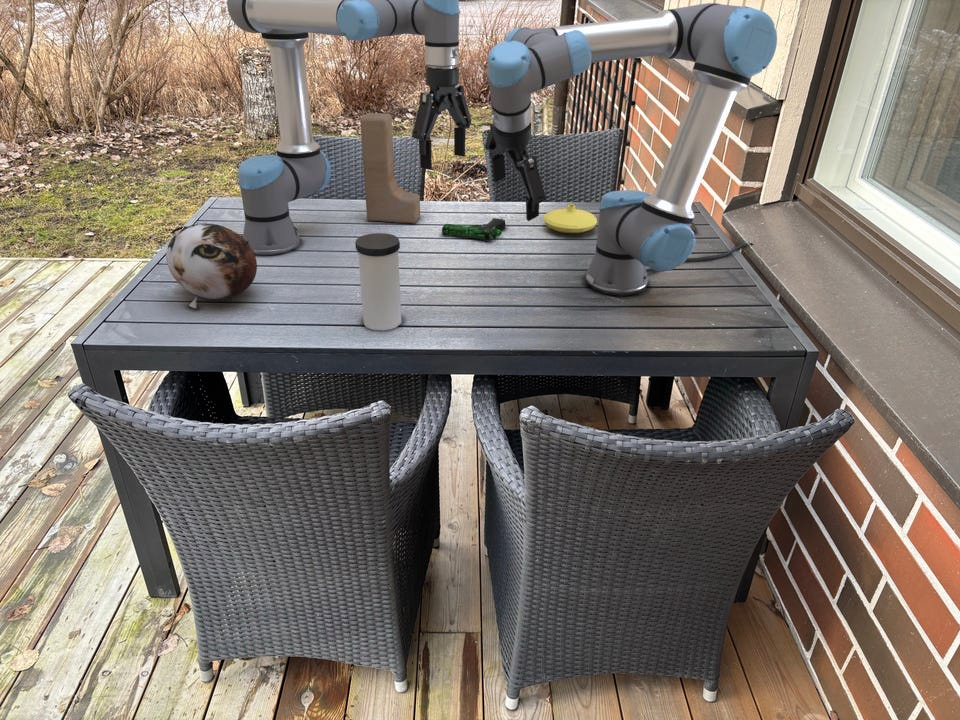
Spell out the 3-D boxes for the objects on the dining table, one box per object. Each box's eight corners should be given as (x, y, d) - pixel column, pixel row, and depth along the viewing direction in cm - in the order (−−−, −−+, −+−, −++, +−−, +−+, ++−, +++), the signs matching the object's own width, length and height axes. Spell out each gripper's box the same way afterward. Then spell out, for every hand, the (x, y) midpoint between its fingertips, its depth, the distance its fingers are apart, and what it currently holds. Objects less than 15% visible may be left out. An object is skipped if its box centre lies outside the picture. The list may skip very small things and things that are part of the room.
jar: (360, 315, 162) (354, 237, 152) (397, 311, 164) (393, 233, 154) (367, 332, 155) (360, 252, 145) (405, 327, 157) (401, 248, 147)
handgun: (511, 219, 210) (493, 234, 198) (511, 228, 211) (492, 244, 199) (461, 212, 215) (440, 226, 203) (461, 221, 217) (440, 236, 204)
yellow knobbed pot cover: (559, 216, 220) (561, 193, 217) (605, 227, 212) (608, 204, 209) (532, 230, 209) (533, 207, 206) (580, 242, 201) (582, 218, 198)
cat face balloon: (130, 285, 161) (164, 203, 163) (192, 308, 177) (221, 233, 178) (195, 307, 151) (229, 220, 152) (254, 330, 166) (285, 250, 168)
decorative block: (415, 224, 212) (412, 120, 197) (366, 221, 214) (359, 117, 199) (420, 215, 219) (417, 114, 203) (373, 212, 220) (366, 112, 205)
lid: (352, 242, 153) (352, 235, 152) (395, 238, 155) (394, 231, 155) (359, 258, 145) (359, 251, 145) (404, 253, 148) (403, 246, 147)
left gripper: (421, 75, 148) (424, 176, 159) (486, 61, 166) (485, 153, 177) (393, 71, 151) (397, 171, 162) (460, 58, 169) (460, 148, 180)
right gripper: (462, 93, 143) (472, 170, 161) (530, 168, 131) (532, 242, 150) (494, 78, 144) (500, 156, 163) (564, 151, 133) (562, 226, 151)
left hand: (443, 161), depth 169 cm, fingers open, 13 cm apart
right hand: (515, 197), depth 156 cm, fingers open, 13 cm apart
